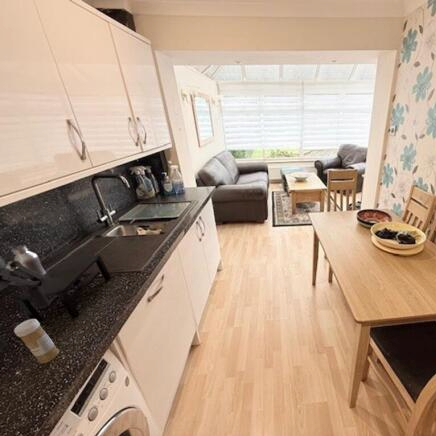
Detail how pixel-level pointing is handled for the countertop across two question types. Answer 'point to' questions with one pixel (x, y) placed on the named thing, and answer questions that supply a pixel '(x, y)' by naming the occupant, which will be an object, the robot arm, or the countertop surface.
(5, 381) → the countertop surface
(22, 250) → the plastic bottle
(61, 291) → the stand
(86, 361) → the countertop surface
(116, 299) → the countertop surface
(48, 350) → the sprinkles bottle
